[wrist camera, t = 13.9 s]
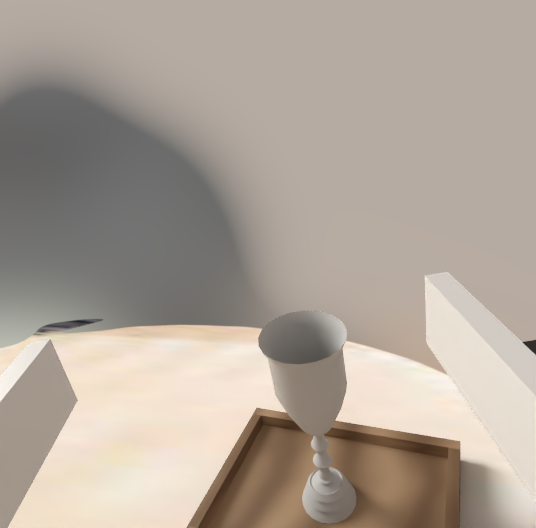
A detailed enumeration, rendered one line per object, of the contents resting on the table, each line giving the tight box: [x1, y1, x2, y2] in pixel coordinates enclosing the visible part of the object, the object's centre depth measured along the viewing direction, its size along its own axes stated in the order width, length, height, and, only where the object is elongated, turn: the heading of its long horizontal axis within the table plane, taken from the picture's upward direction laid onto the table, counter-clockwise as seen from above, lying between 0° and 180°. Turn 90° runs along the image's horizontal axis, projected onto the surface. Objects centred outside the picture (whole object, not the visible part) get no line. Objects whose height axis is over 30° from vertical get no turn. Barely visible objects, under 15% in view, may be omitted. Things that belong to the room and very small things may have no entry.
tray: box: [187, 408, 460, 528], centre depth 39 cm, size 22×16×2 cm
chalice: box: [258, 311, 357, 524], centre depth 36 cm, size 7×7×18 cm
